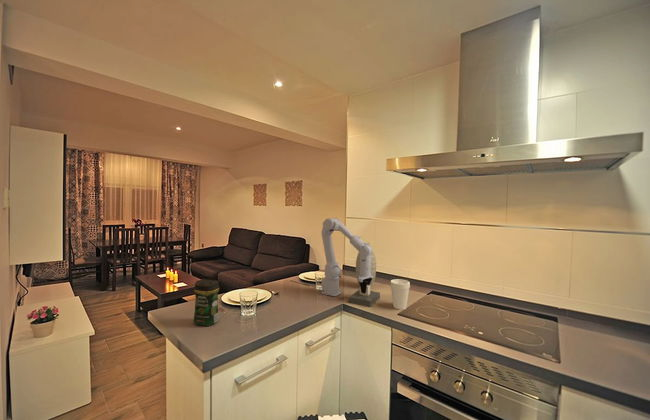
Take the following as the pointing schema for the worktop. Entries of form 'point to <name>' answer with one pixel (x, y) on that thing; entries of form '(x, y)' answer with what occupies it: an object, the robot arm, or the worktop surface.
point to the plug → (366, 291)
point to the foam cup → (400, 293)
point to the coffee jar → (206, 302)
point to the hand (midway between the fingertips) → (364, 292)
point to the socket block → (364, 298)
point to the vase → (373, 266)
